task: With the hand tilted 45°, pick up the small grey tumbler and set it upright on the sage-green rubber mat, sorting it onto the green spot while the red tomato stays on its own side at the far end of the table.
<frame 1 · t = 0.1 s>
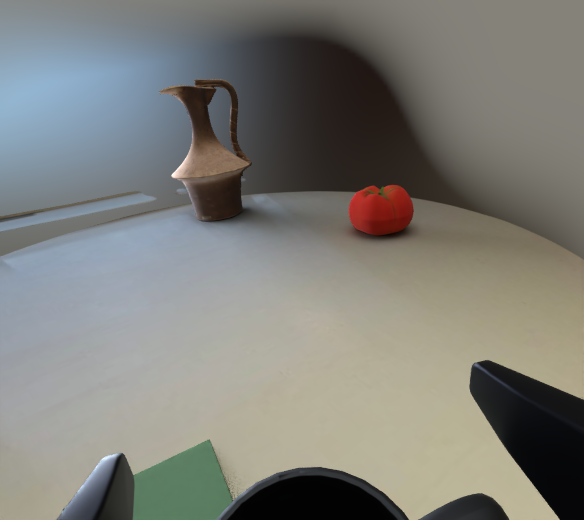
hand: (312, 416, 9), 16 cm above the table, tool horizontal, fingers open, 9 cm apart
tomato: (380, 231, 65), on the table
pitcher: (220, 214, 85), on the table
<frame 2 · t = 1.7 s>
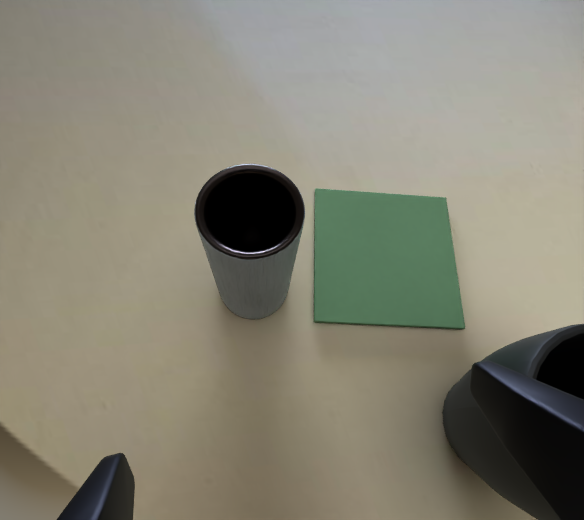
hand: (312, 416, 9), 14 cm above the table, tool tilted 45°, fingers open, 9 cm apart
green mat: (384, 256, 26), on the table
mug: (514, 430, 23), on the table
grey tumbler: (254, 287, 25), on the table
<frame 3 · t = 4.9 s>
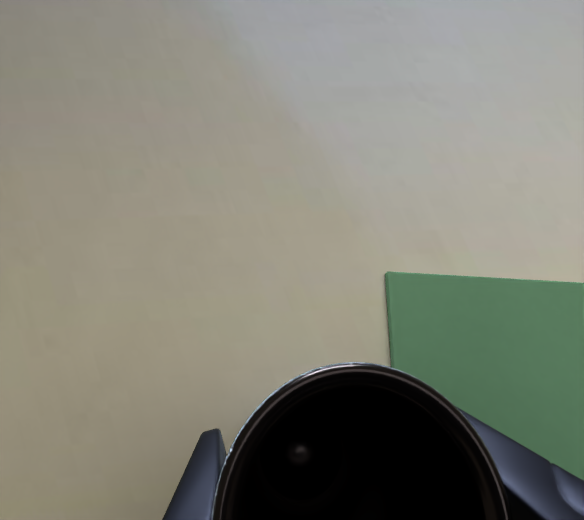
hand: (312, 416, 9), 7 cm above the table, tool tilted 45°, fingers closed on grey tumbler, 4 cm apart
green mat: (501, 385, 16), on the table
grey tumbler: (298, 449, 15), on the table, touching gripper
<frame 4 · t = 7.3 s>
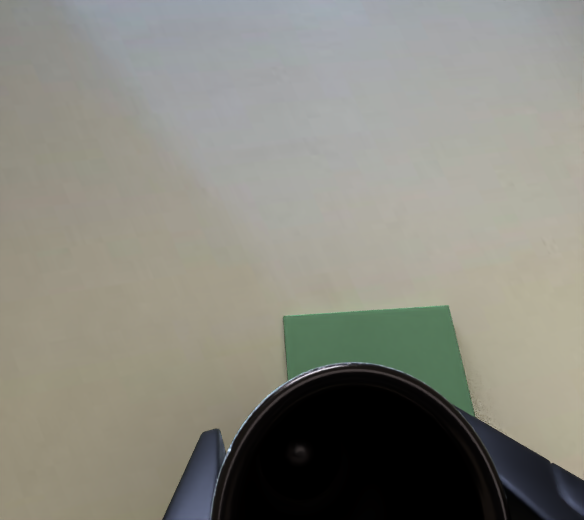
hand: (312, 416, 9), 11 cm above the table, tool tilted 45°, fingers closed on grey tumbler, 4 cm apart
green mat: (380, 401, 20), on the table
grey tumbler: (297, 449, 15), point 5 cm above the table, touching gripper
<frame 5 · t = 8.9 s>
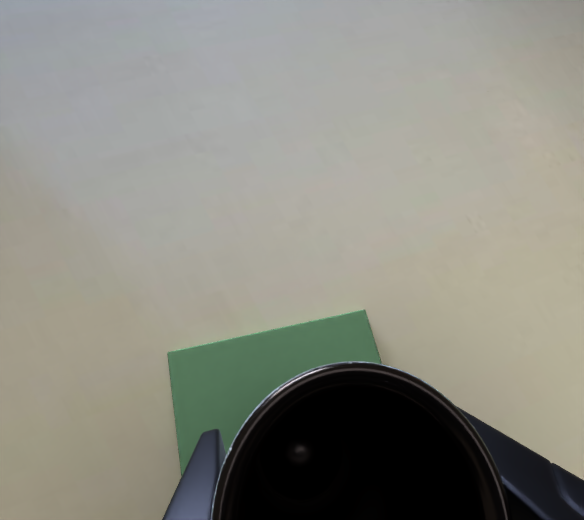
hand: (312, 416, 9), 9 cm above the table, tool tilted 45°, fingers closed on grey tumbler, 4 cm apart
green mat: (292, 437, 17), on the table
grey tumbler: (298, 449, 15), point 2 cm above the table, touching gripper
when the fingers open (7 cm above the table, at t = 9.9 s): grey tumbler stays where it is, resting on green mat.
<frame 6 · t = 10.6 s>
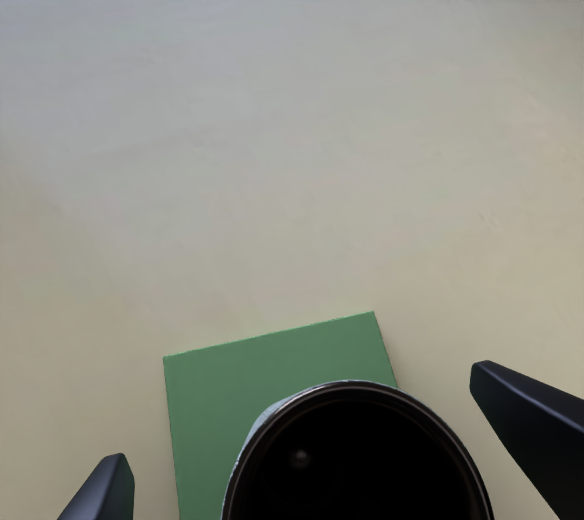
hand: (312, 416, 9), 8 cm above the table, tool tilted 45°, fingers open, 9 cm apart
green mat: (297, 448, 16), on the table
grey tumbler: (298, 454, 16), resting on green mat
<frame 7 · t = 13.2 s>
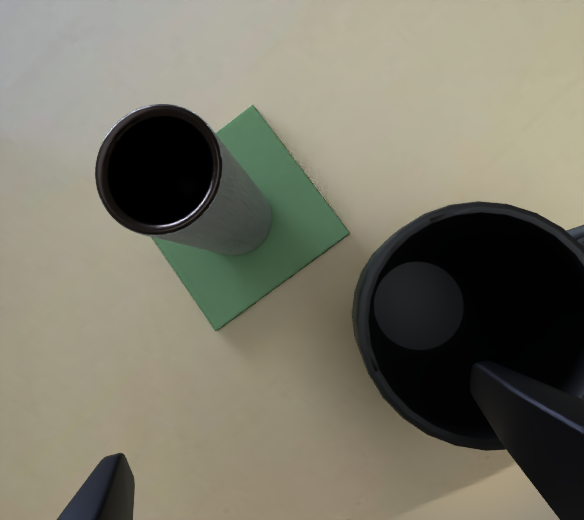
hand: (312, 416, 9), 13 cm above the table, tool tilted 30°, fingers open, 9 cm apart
green mat: (235, 217, 23), on the table
mug: (446, 291, 22), on the table
grey tumbler: (236, 219, 23), resting on green mat
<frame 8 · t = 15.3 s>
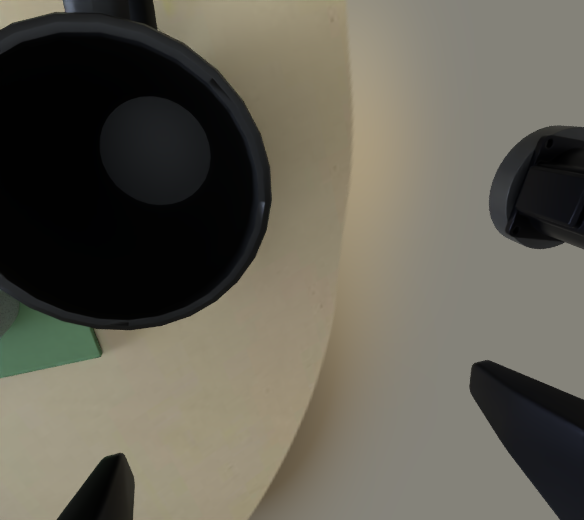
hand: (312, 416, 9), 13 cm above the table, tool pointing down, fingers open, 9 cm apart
mug: (155, 111, 18), on the table
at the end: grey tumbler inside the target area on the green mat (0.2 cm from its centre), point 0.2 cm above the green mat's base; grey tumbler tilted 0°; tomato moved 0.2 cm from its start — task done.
